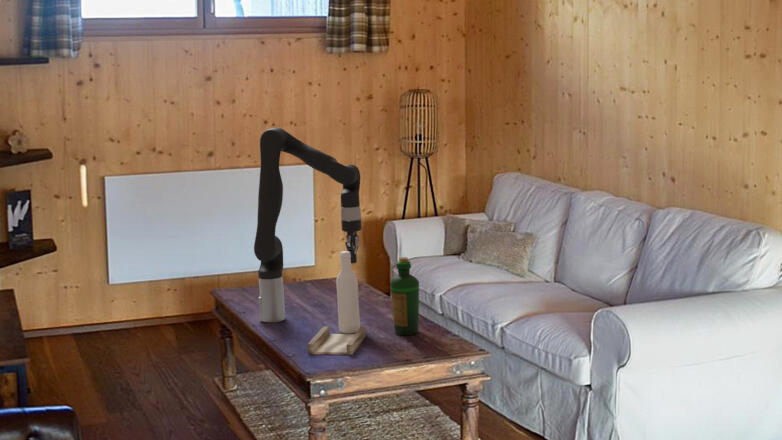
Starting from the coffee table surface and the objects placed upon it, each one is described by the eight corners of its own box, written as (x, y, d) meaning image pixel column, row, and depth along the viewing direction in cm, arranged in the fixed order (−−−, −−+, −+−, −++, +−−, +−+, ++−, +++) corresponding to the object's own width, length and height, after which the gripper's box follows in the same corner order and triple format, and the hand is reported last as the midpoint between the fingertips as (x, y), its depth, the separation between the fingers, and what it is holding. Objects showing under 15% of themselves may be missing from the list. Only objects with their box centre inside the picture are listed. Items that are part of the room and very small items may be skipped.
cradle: (308, 354, 377) (307, 344, 377) (324, 335, 398) (323, 326, 398) (352, 354, 374) (352, 344, 373) (366, 336, 395) (366, 326, 395)
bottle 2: (391, 329, 402) (387, 256, 397) (419, 327, 403) (416, 254, 398) (393, 337, 392) (389, 262, 387) (422, 335, 392) (419, 260, 387)
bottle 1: (357, 333, 399) (353, 254, 393) (336, 333, 401) (332, 254, 395) (362, 327, 407) (358, 249, 401) (342, 327, 408) (337, 249, 403)
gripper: (345, 215, 415) (348, 259, 418) (337, 221, 402) (339, 267, 405) (364, 214, 413) (367, 259, 417) (356, 221, 401) (359, 266, 404)
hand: (353, 262), depth 411 cm, fingers closed
